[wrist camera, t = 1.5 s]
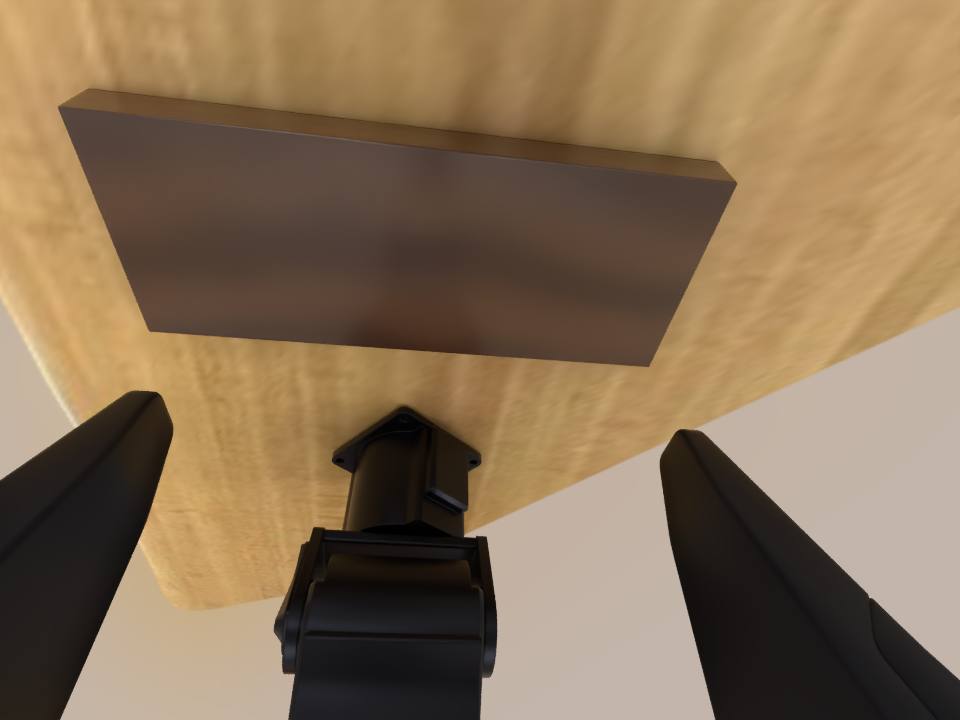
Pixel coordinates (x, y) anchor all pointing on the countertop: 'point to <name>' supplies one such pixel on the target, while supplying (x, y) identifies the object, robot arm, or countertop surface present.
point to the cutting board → (392, 230)
